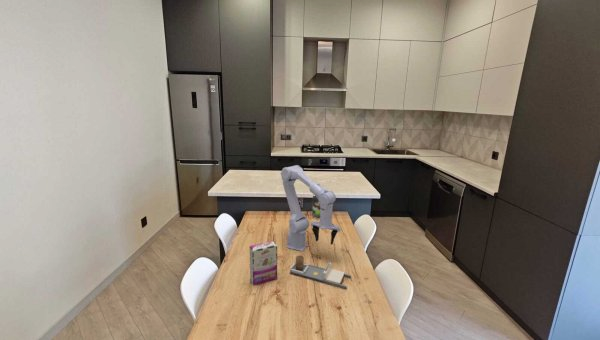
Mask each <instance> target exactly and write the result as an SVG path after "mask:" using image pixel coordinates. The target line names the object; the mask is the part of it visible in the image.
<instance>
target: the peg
mask: <svg viewBox="0 0 600 340" xmlns="http://www.w3.org/2000/svg"><path fill="white" fill-rule="evenodd" d="M304 261H305V259H304V256H303V255H296V256H295V262H296V270H298V271H303V265H304Z"/></svg>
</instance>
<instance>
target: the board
mask: <svg viewBox="0 0 600 340" xmlns="http://www.w3.org/2000/svg"><path fill="white" fill-rule="evenodd" d="M324 270H325V268H324V267H321V266H317V265H316V266H315V265H312V264H309V263H304V265H303V271H298V270H296V261H295V262H293V264H292V265H291V266H290V268H289V274H290V275H292V276H296V277H300V278H304V279H307V280H311V281H315V282H318V283H322V284H325V285H329V286H333V287H336V288H339V289H344V290H347V288H348V286H347V285H344V284H340V285H339V284H335V283H332V282H328V281H324V280H323V272H324ZM343 278H347V279H352V275H350V274H347V273H345V274H344V276H343Z"/></svg>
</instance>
